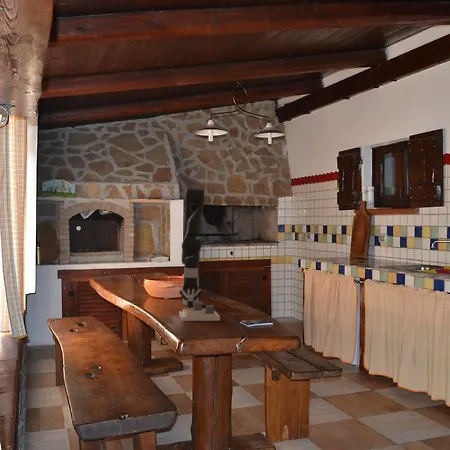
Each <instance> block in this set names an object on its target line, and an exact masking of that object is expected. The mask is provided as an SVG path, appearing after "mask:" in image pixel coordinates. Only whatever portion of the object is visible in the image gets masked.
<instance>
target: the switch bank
mask: <svg viewBox="0 0 450 450" xmlns="http://www.w3.org/2000/svg"><path fill="white" fill-rule="evenodd" d="M178 316H179V318H180V320H181V321H182V322H212V321H213V322H214V321H215V322H216V321H217V322H218V321H221V315H220V314H218V312H216V311H215V310H214V314H206V307H205V308H203V307H202V310H198V311H194V308H183V309H182V311H181V310H180V311H179V312H178Z"/></svg>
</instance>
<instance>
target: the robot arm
mask: <svg viewBox="0 0 450 450" xmlns="http://www.w3.org/2000/svg"><path fill="white" fill-rule="evenodd" d="M205 195H206V194H205V191H204V189H199V188H187V189H186V190H185V194H184V221H183V240H182V242H181V250H182V251H181V263H182V265H184V270H183V284H182V285H183V286H182V289H180V290H178V293H179V294H180V295H181V297H182V304H183V305H185V306H187V308H188V309H193V308H194V302H199V297H200V296H201V294H203V291H202V290H201V289H199V281H200V280H199V277H200V273H199V272H200V257H201V256H200V255H201V249H202V241H201V240H200V239H197V238H198V237H199V235H200V225H201V220H202V219H201V218H202V215H203V210H204V205H205ZM192 206H197V207H196V210H195V211H194V212H193V209H192Z"/></svg>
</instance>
